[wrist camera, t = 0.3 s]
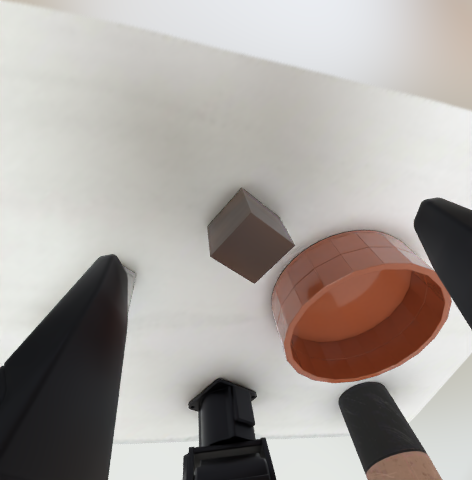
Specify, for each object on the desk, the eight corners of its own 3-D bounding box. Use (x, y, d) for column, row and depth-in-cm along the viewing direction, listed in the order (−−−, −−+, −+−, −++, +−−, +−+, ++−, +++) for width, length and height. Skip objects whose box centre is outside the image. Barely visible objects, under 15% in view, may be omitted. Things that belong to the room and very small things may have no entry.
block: (245, 252, 27) (254, 283, 23) (207, 226, 25) (209, 256, 21) (279, 217, 25) (295, 245, 21) (241, 187, 23) (251, 212, 20)
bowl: (331, 357, 37) (350, 398, 32) (241, 307, 30) (249, 350, 26) (438, 278, 32) (478, 314, 27) (357, 198, 25) (392, 229, 21)
